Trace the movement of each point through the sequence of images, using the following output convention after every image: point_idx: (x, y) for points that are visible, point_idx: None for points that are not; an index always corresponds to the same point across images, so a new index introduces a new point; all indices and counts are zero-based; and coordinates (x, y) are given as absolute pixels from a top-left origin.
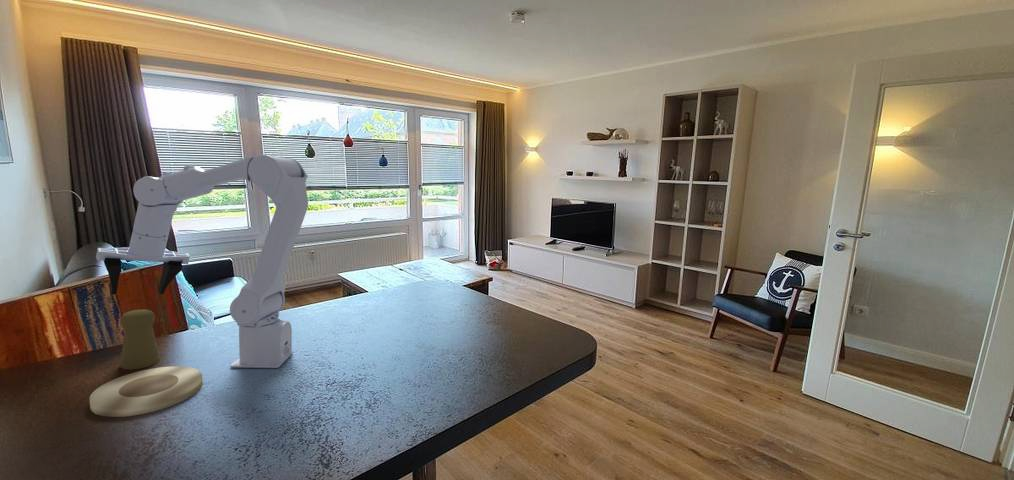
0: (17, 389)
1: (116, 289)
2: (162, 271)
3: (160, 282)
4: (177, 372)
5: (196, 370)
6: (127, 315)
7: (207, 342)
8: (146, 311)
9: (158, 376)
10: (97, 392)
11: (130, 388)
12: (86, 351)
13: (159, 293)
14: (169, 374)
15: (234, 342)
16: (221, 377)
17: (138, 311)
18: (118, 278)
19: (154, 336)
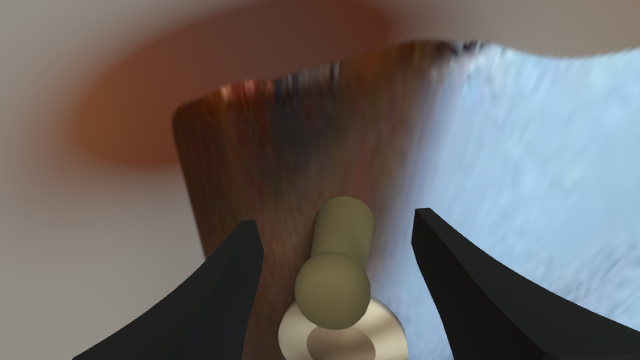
0: (201, 218)
1: (257, 277)
2: (472, 281)
3: (433, 248)
4: (379, 336)
5: (405, 347)
6: (305, 315)
7: (484, 190)
8: (348, 317)
9: (354, 333)
10: (285, 327)
11: (319, 343)
12: (264, 89)
13: (411, 240)
14: (368, 335)
15: (532, 229)
16: (432, 356)
17: (329, 314)
18: (242, 344)
19: (367, 259)
